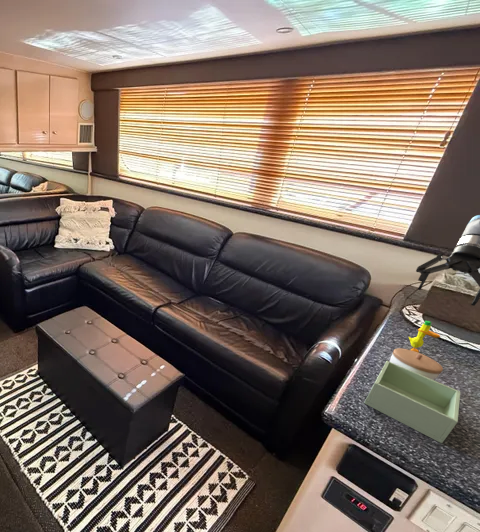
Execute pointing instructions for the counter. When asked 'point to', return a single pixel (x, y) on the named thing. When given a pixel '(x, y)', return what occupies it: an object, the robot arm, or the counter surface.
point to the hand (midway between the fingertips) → (445, 295)
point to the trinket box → (416, 363)
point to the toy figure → (422, 336)
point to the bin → (415, 401)
